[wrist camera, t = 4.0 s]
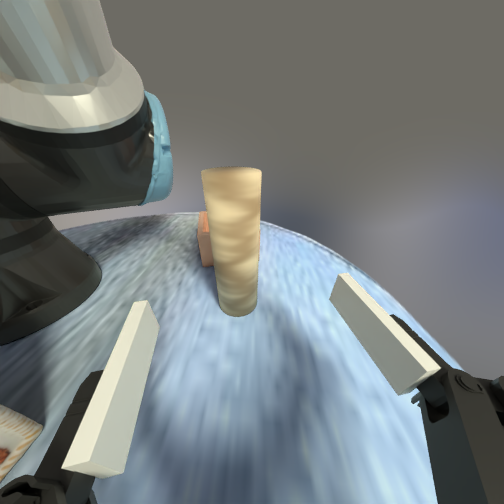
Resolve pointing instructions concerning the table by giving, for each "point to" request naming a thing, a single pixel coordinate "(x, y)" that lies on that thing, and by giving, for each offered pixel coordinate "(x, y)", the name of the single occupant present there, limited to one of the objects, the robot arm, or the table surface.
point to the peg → (234, 234)
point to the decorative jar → (15, 437)
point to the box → (206, 240)
